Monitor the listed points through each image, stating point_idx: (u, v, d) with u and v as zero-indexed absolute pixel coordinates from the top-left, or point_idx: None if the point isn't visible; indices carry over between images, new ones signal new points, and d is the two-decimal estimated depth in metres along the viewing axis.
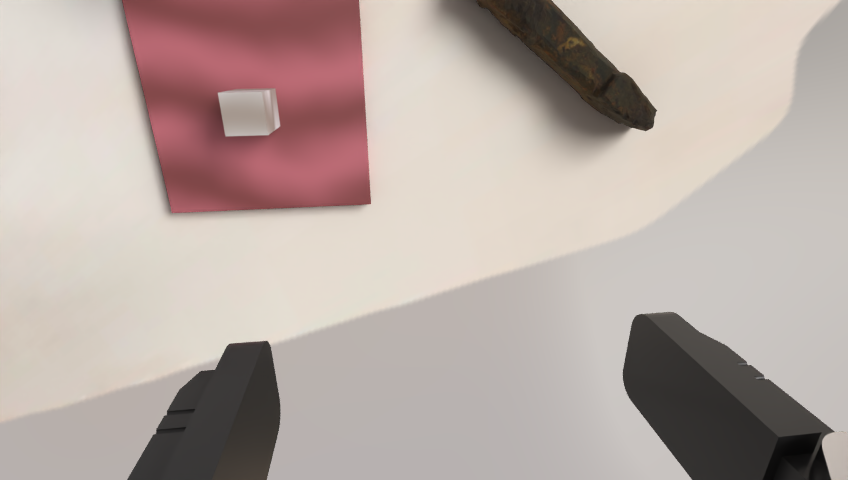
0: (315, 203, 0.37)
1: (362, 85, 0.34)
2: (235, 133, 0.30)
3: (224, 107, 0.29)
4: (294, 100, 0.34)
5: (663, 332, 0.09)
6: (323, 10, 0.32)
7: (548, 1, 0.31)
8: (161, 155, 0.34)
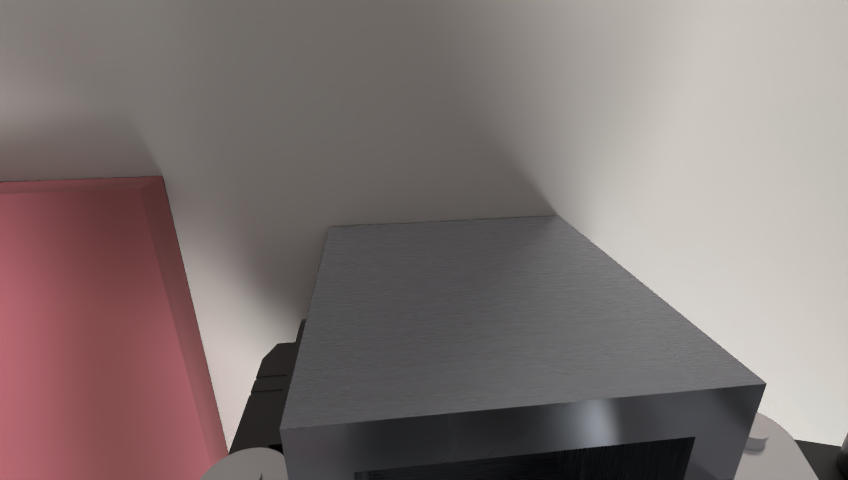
0: None
1: None
2: None
3: None
4: None
5: None
6: None
7: None
8: None
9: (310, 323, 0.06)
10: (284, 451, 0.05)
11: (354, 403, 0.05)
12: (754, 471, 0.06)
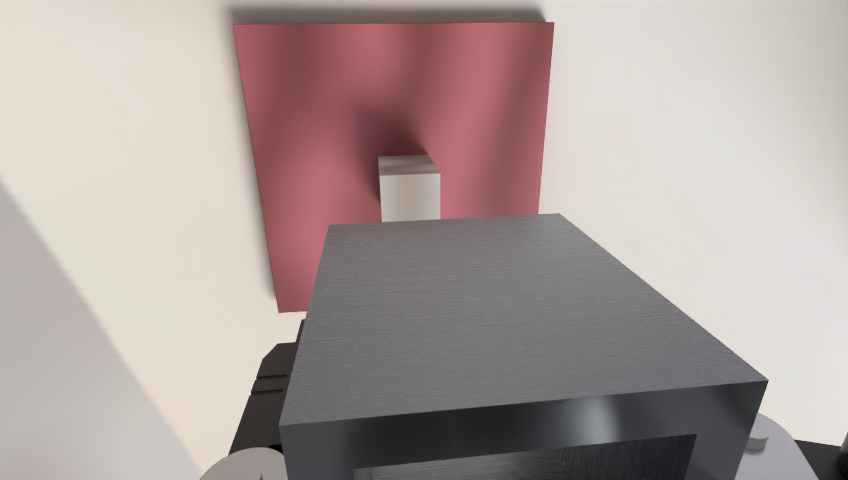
0: (272, 244, 0.26)
1: None
2: (384, 190, 0.21)
3: (420, 179, 0.21)
4: None
5: None
6: None
7: None
8: (331, 28, 0.22)
9: (310, 320, 0.06)
10: (283, 448, 0.05)
11: (354, 399, 0.05)
12: (753, 471, 0.06)
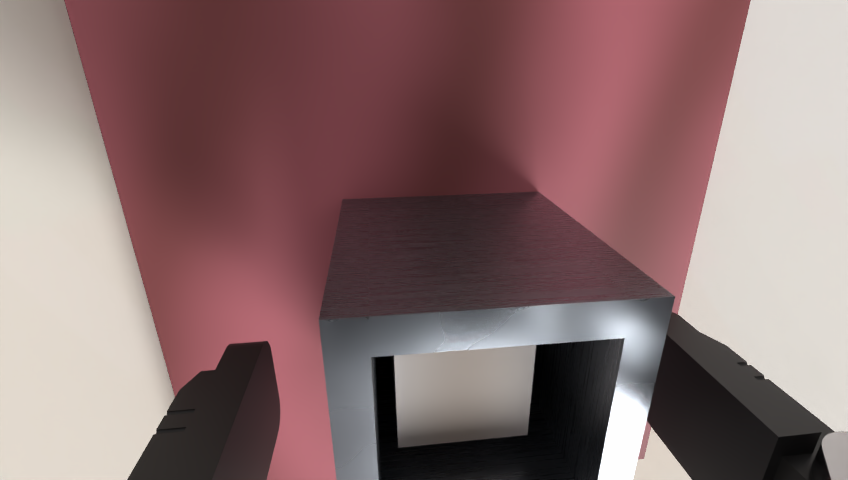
0: None
1: None
2: (403, 364, 0.09)
3: None
4: None
5: None
6: None
7: None
8: None
9: (334, 261, 0.08)
10: (321, 337, 0.06)
11: (371, 306, 0.07)
12: None
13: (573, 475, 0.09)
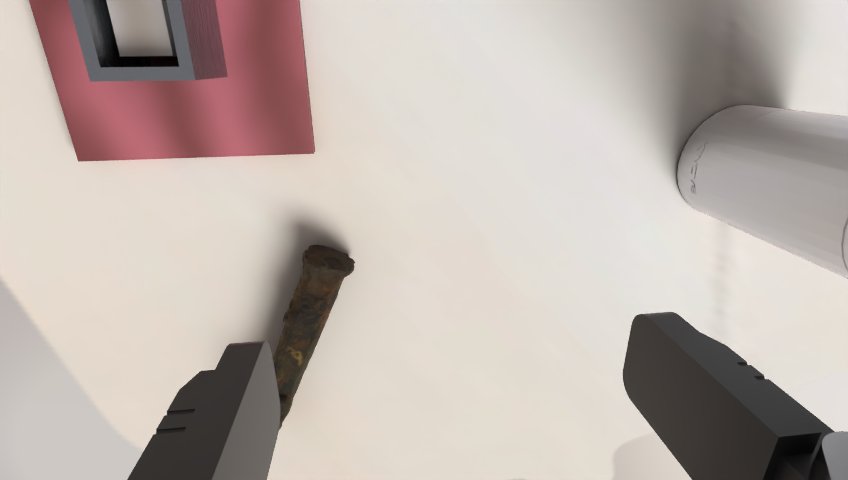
0: (61, 92, 0.29)
1: (220, 155, 0.32)
2: (113, 14, 0.24)
3: (144, 5, 0.24)
4: None
5: (663, 332, 0.09)
6: (289, 118, 0.31)
7: (321, 324, 0.35)
8: None
9: None
10: None
11: None
12: None
13: None
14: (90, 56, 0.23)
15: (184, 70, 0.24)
